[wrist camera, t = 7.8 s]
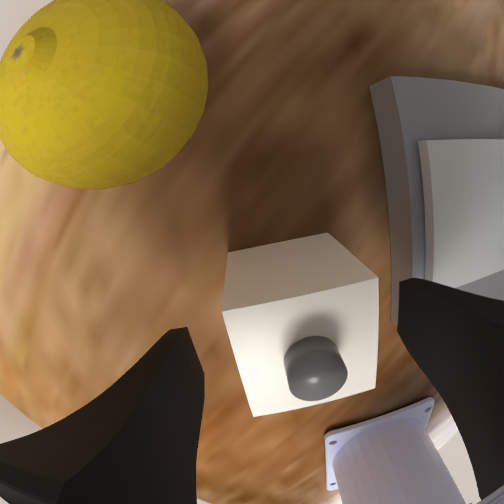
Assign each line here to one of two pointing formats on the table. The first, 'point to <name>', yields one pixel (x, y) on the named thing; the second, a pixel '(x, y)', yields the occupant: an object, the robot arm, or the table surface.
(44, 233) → the table surface
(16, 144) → the lemon
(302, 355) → the plug
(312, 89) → the table surface
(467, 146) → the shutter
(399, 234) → the socket plate
